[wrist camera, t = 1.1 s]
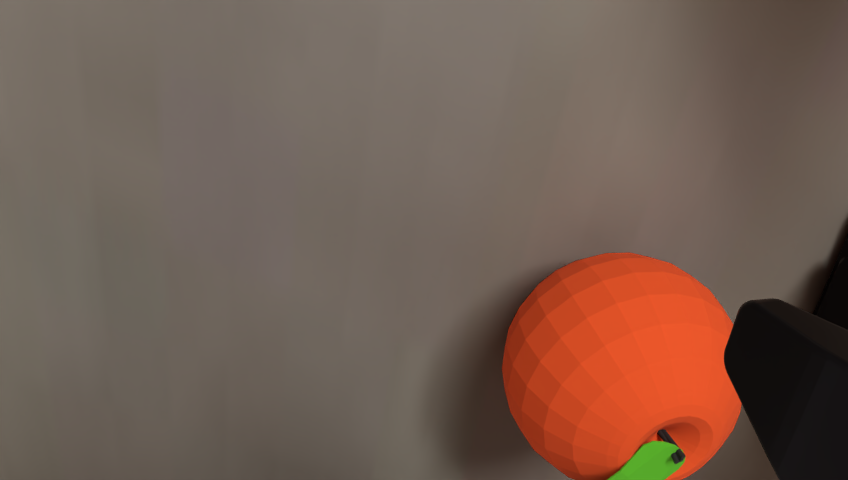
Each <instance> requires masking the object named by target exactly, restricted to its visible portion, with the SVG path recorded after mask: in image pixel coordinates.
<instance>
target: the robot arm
mask: <svg viewBox="0 0 848 480" xmlns="http://www.w3.org/2000/svg"><path fill="white" fill-rule="evenodd" d="M724 365H725V369H726V372H727V374H728V376H729V378H730V380H731V382H732V384H733V386H734V389H735V391H736V393H737V395H738V397H739V399H740V401H741V403H742V405H743V407H744V409H745V411H746V413H747V415H748V418H749V420H750V422H751V424H752V426H753V428H754V430H755V432H756V434H757V436H758V438H759V440H760V442H761V444H762V447H763V449H764V451H765V453H766V455H767V457H768V459H769V461H770V463H771V465H772V467H773V469H774V471H775V472H776V474H777V476H778V478H779V480H848V235H847V238H846V240H845V242H844V245H843V247H842V249H841V252H840V254H839V256H838V258H837V261H836V263H835V265H834V268H833V270H832V272H831V275H830V277H829V279H828V282H827V284H826V286H825V289H824V291H823V293H822V295H821V298H820V300H819V302H818V305H817V307H816V309H815V312H814V314H811V313H808V312H806V311H804V310H802V309H799V308H797V307H795V306H793V305H791V304H788V303H786V302H784V301H782V300H779V299H773V298H772V299H760V300H750V301H747V302H745V303H744V304H743V305H742V306H741V307H740V309H739V311H738V313H737V316H736V319H735V322H734V325H733V327H732V330H731V333H730V336H729V339H728V342H727V344H726V347H725V351H724Z"/></svg>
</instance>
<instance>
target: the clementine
mask: <svg viewBox="0 0 848 480" xmlns="http://www.w3.org/2000/svg"><path fill="white" fill-rule="evenodd" d="M732 327H733V323H732V322H731V320H730V318H729V317H728V315H727V314H726V312H725V310H724V309H723V307H722V306H721V305H720V303H719V302H718V301H717V299H716V298H715V297H714V295H713V294H712V293H711V291H710V290H709V289H708V288H706V287H705V286H704V285H702V284H701V283H700V282H699V281H697V280H696V279H695V278H693V277H692V276H691V275H689V274H688V273H686V272H684V271H683V270H681V269H679V268H678V267H676V266H675V265H673V264H671V263H668V262H664V261H661V260H658V259H654V258H651V257H647V256H642V255H638V254H634V253H605V254H601V255H597V256H593V257H589V258H585V259H581V260H577V261H574V262H572V263H570V264H568V265H566V266H564V267H562V268H560V269H558V270H556V271H555V272H553V273H552V274H551V275H549V276H548V277H547V278H546V279H544V280H543V281H542V282H540V283H539V284H538V285H537V287H536V288H535V289H534V290H533V291H532V292H531V294H530V295H529V296H528V297H527V298H526V300H525V301H524V302H523V303H522V305H521V306H520V307H519V309H518V311H517V313H516V315H515V317H514V319H513V321H512V323H511V325H510V327H509V329H508V334H507V339H506V344H505V349H504V357H503V364H502V373H503V380H504V388H505V393H506V397H507V401H508V405H509V409H510V412H511V414H512V416H513V417H514V419H515V421H516V423H517V425H518V427H519V428H520V430H521V432H522V433H523V435H524V436H525V438H526V439H527V441H528V442H529V444H530V445H531V447H532V448H533V449H534V450H535V451H536V452H537V453H538V454H539V455H541V456H542V457H543V458H544V459H545V460H547V461H548V462H549V463H550V464H552V465H553V466H554V467H556V468H557V469H558V470H560V471H561V472H562V473H564V474H565V475H566V476H568V477H569V478H572V479H575V480H682V479H684V478H686V477H688V476H690V475H691V474H693V473H694V472H695V471H697V470H698V469H700V468H701V467H703V466H704V465H705V464H706V463H707V462H708V461H709V460H710V459H711V458H712V457H713V456H714V455H715V454H716V452H717V451H718V450H719V449H720V448H721V446H722V445H723V443H724V442H725V441H726V439H727V438H728V436H729V435H730V433H731V432H732V431H733V429H734V426H735V424H736V421H737V419H738V416H739V414H740V410H741V405H742V403H741V401H740V399H739V397H738V395H737V393H736V391H735V389H734V386H733V384H732V382H731V380H730V378H729V376H728V374H727V372H726V369H725V365H724V351H725V347H726V344H727V342H728V339H729V336H730V333H731V330H732Z"/></svg>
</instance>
